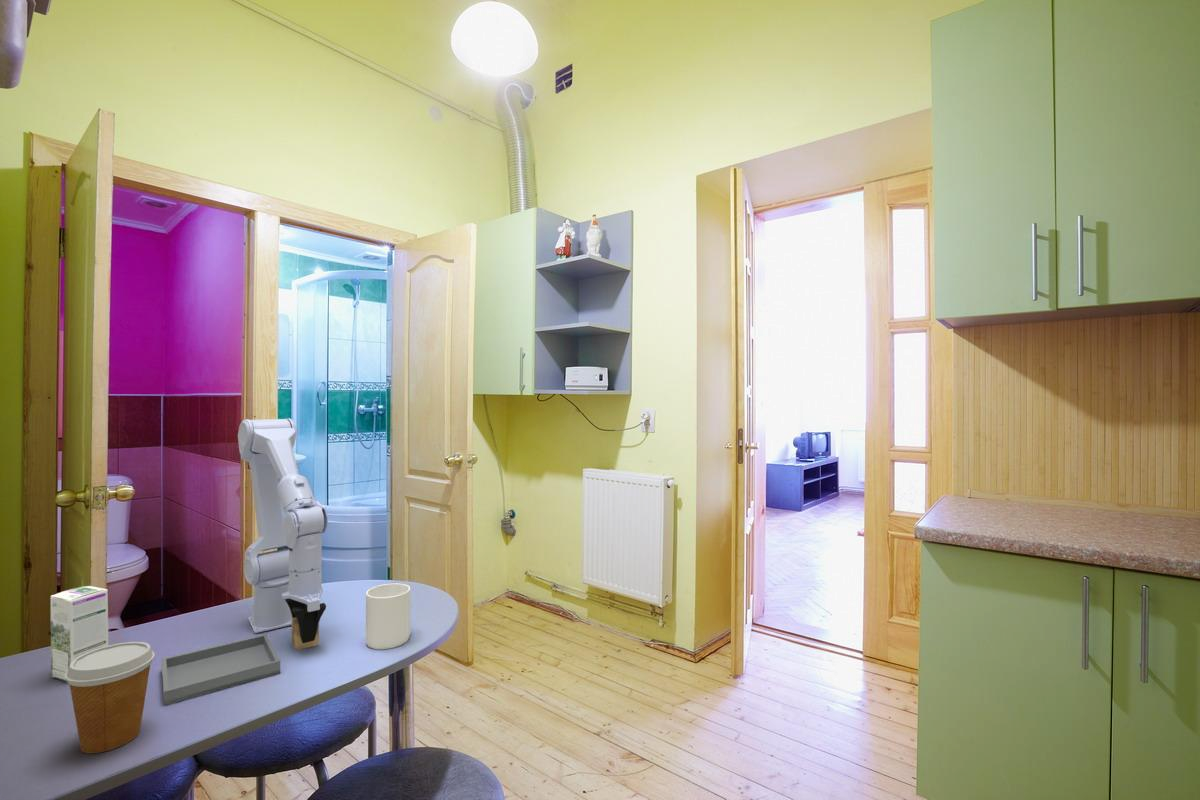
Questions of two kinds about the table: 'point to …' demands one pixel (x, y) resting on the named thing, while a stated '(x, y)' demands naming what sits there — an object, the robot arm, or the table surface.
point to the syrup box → (77, 625)
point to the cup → (387, 615)
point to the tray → (217, 668)
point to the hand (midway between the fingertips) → (305, 636)
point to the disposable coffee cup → (109, 694)
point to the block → (297, 639)
